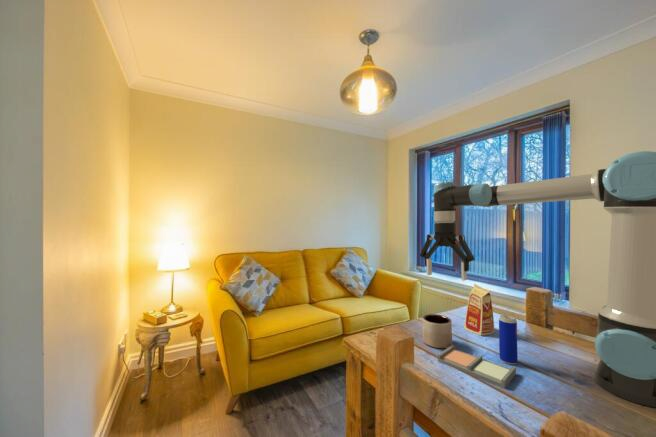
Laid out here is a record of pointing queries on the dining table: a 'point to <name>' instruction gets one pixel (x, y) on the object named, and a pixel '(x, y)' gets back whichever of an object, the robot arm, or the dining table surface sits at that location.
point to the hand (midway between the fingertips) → (445, 277)
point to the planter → (437, 331)
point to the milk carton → (479, 312)
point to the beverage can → (508, 339)
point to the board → (477, 366)
